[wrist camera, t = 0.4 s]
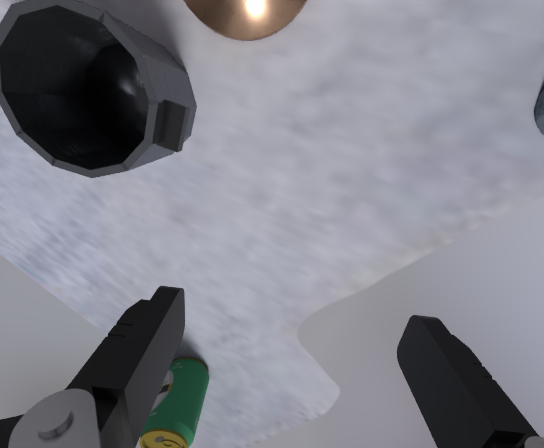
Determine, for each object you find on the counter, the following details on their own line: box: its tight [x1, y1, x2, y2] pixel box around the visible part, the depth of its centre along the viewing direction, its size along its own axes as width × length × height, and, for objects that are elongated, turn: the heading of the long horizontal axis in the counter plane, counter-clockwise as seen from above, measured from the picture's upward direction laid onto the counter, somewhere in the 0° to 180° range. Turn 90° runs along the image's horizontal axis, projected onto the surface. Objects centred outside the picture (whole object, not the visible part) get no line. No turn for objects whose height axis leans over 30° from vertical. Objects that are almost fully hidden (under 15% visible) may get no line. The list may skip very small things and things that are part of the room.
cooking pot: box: [0, 0, 197, 178], centre depth 26 cm, size 13×17×11 cm
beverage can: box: [140, 357, 209, 448], centre depth 44 cm, size 8×8×12 cm
